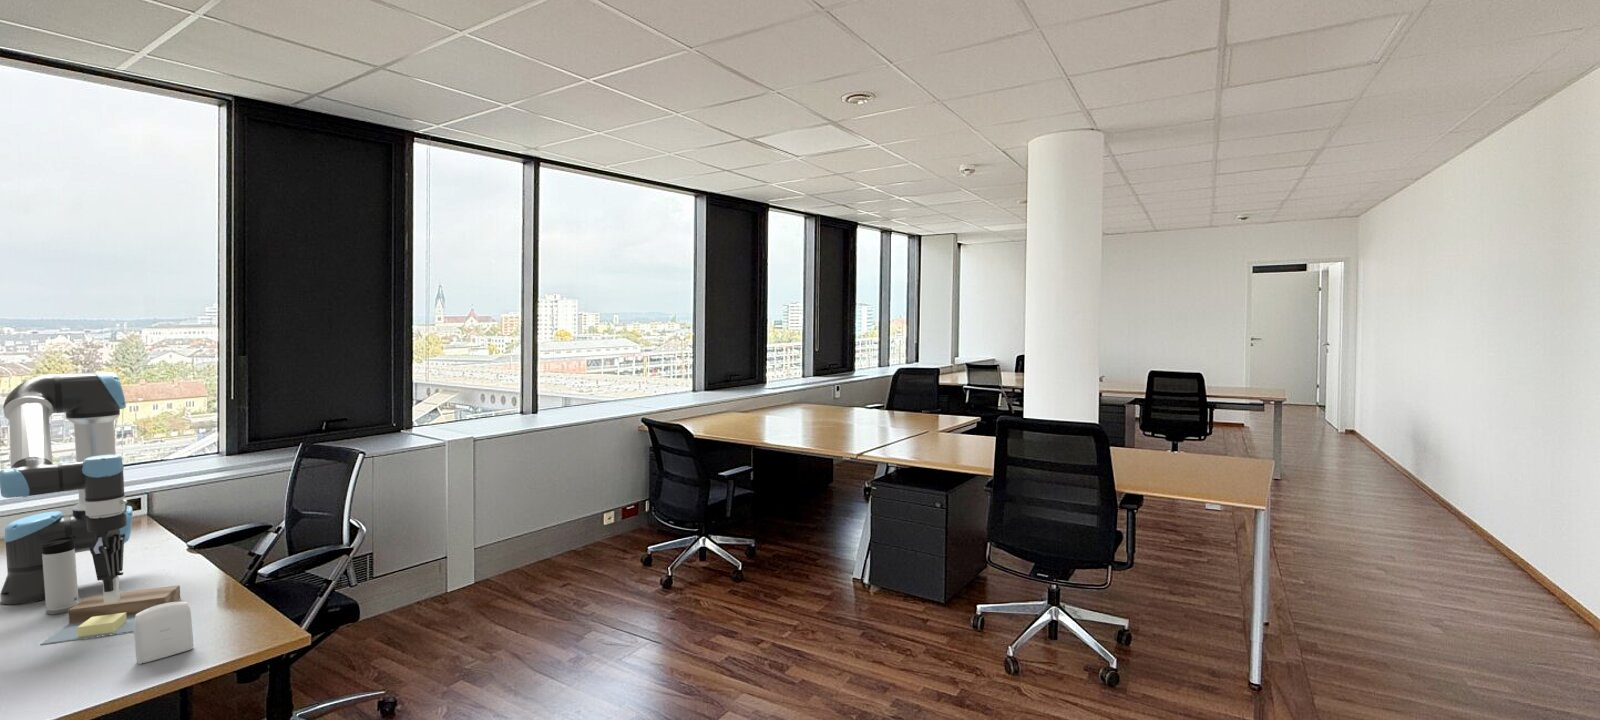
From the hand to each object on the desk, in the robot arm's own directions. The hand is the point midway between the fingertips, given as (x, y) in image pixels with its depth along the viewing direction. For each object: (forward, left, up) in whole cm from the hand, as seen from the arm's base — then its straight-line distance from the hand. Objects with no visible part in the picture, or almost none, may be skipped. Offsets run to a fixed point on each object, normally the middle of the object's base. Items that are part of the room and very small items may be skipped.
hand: (112, 602), depth 188 cm
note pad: (+5, 0, -3) cm, 6 cm away
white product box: (+30, +21, -6) cm, 37 cm away
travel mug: (-17, -17, -6) cm, 25 cm away
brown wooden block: (-8, 0, -6) cm, 9 cm away
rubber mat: (+4, 0, -6) cm, 7 cm away
